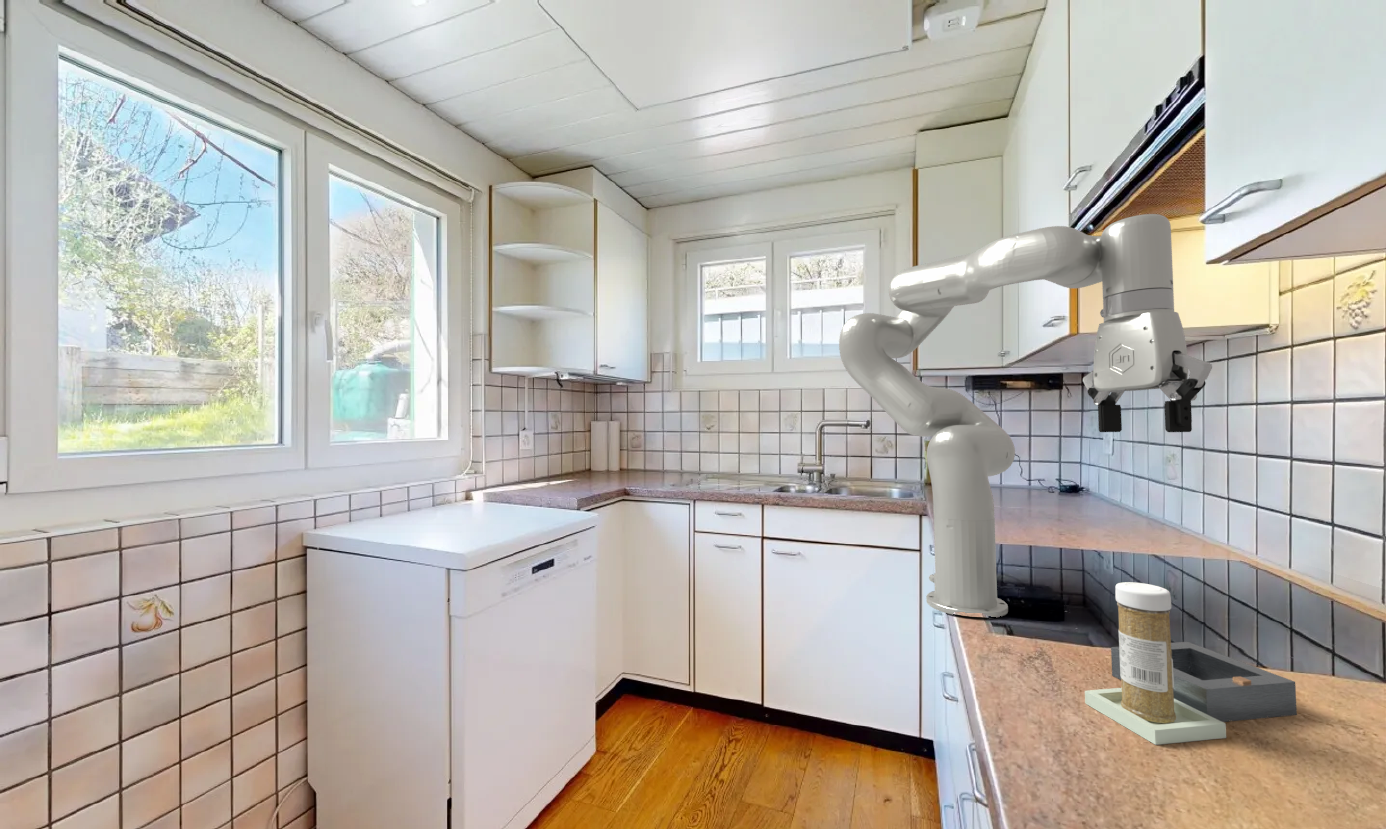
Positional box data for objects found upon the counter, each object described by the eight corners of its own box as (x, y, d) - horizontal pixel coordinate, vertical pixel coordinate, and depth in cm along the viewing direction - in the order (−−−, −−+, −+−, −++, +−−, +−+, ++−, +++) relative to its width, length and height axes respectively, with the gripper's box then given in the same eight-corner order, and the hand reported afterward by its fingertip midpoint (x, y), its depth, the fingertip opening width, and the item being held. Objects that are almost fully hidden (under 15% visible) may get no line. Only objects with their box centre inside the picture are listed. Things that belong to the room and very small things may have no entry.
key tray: (1085, 703, 60) (1084, 690, 60) (1147, 698, 61) (1147, 685, 61) (1155, 744, 52) (1154, 730, 52) (1226, 737, 53) (1225, 723, 53)
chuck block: (1112, 675, 66) (1110, 644, 67) (1188, 669, 68) (1187, 639, 68) (1207, 723, 56) (1206, 686, 56) (1296, 715, 57) (1295, 679, 57)
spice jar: (1182, 716, 56) (1177, 588, 57) (1167, 730, 54) (1161, 595, 54) (1129, 698, 60) (1124, 578, 60) (1112, 710, 57) (1107, 585, 58)
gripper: (1062, 321, 82) (1065, 432, 81) (1178, 291, 65) (1183, 432, 64) (1105, 321, 83) (1109, 431, 82) (1231, 293, 66) (1237, 431, 65)
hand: (1142, 432), depth 73 cm, fingers open, 9 cm apart
